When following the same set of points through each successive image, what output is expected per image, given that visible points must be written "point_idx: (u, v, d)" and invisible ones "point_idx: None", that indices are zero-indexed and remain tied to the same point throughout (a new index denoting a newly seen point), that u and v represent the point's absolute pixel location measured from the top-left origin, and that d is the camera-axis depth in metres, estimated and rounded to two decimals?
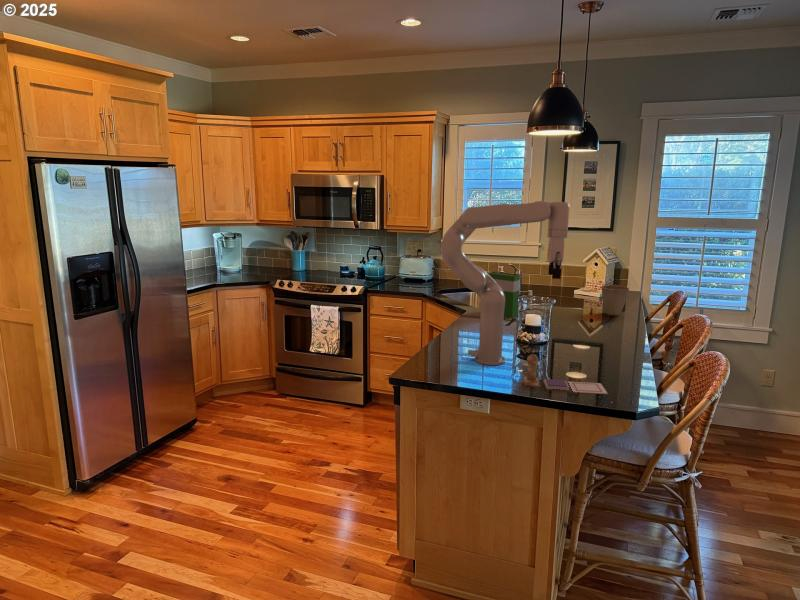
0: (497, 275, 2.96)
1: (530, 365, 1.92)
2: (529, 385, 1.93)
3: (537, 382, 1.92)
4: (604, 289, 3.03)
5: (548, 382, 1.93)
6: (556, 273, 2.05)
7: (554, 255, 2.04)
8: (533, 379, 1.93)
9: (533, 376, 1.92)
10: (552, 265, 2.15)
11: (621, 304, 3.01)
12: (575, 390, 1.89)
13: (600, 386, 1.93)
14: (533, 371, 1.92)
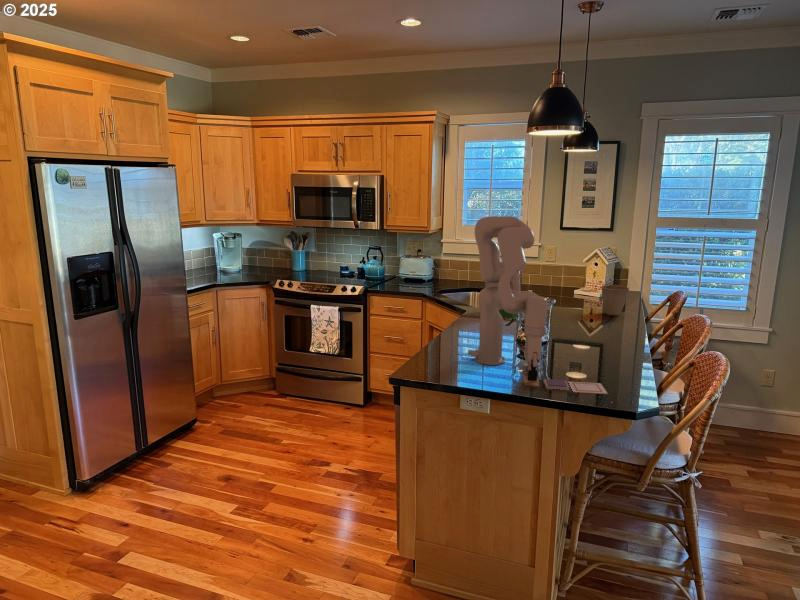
0: None
1: None
2: (529, 385, 1.93)
3: (537, 382, 1.92)
4: (604, 289, 3.03)
5: (548, 382, 1.93)
6: (532, 375, 1.91)
7: (531, 355, 1.87)
8: None
9: None
10: None
11: (621, 304, 3.01)
12: (575, 390, 1.89)
13: (600, 386, 1.93)
14: None
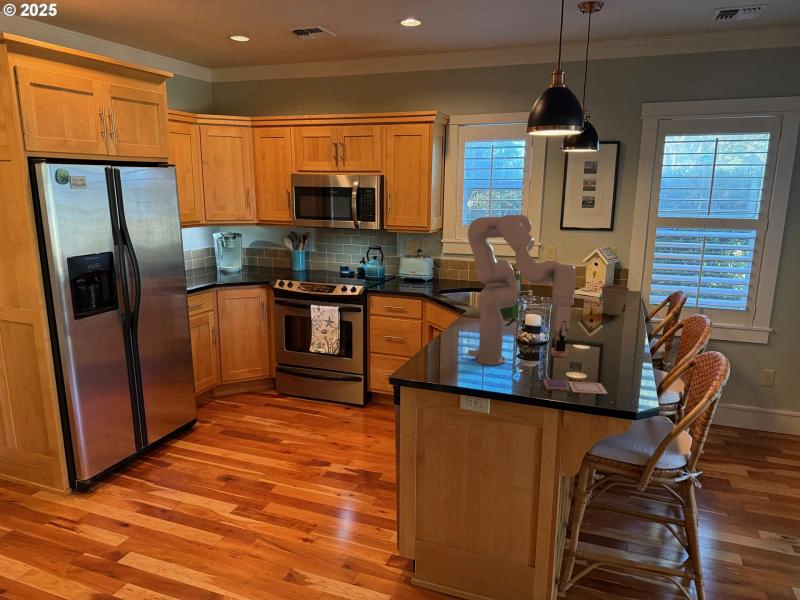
0: None
1: None
2: (557, 356, 1.89)
3: (565, 352, 1.88)
4: (604, 289, 3.03)
5: (548, 382, 1.93)
6: (560, 345, 1.87)
7: (559, 324, 1.84)
8: None
9: None
10: None
11: (621, 304, 3.01)
12: (575, 390, 1.89)
13: (600, 386, 1.93)
14: None
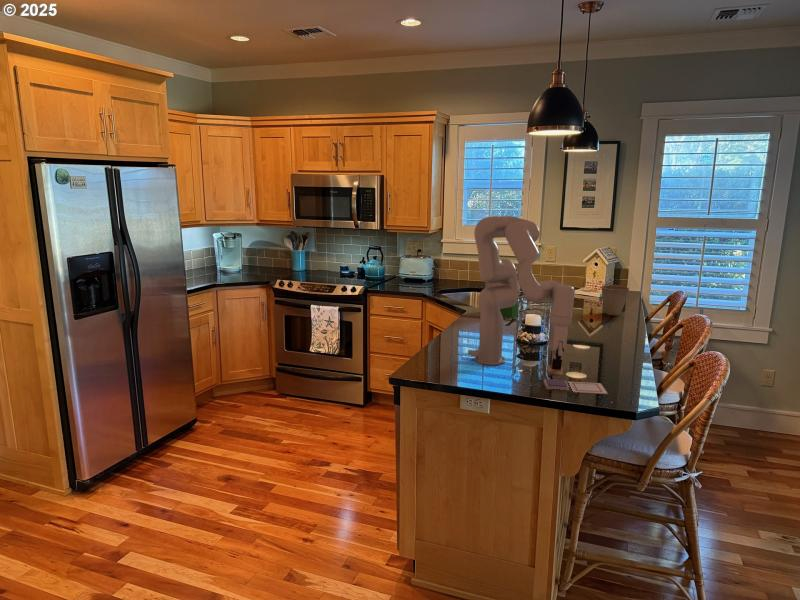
0: None
1: None
2: (553, 374, 1.91)
3: (561, 371, 1.91)
4: (604, 289, 3.03)
5: (548, 382, 1.93)
6: (556, 364, 1.90)
7: (556, 344, 1.86)
8: None
9: None
10: None
11: (621, 304, 3.01)
12: (575, 390, 1.89)
13: (600, 386, 1.93)
14: None
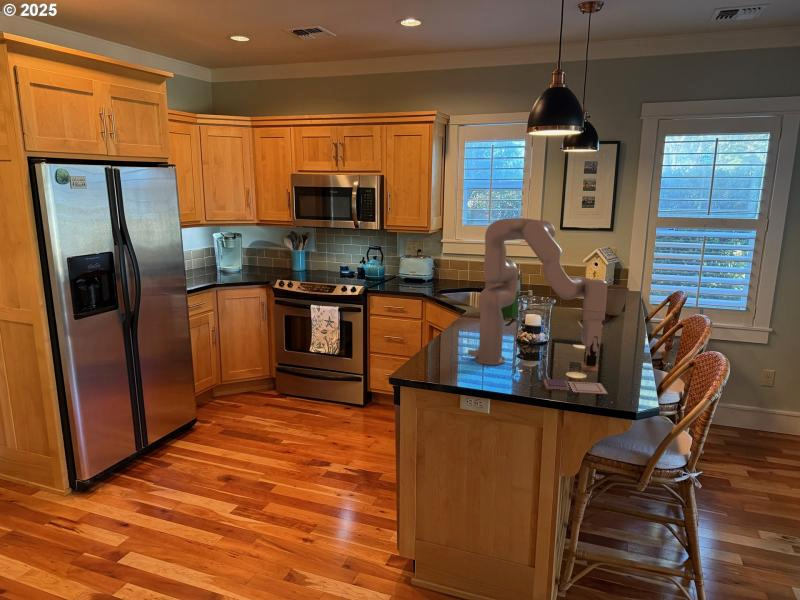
0: None
1: None
2: (588, 370, 1.89)
3: (596, 367, 1.88)
4: None
5: (548, 382, 1.93)
6: (591, 360, 1.87)
7: (591, 340, 1.83)
8: None
9: None
10: None
11: (621, 304, 3.01)
12: (575, 390, 1.89)
13: (600, 386, 1.93)
14: None
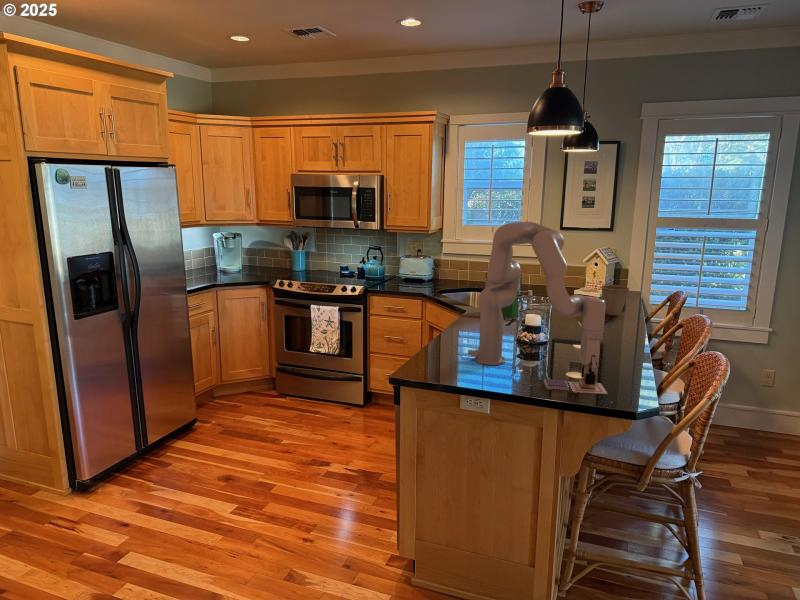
0: None
1: None
2: (586, 387, 1.90)
3: (594, 384, 1.90)
4: (604, 289, 3.03)
5: (548, 382, 1.93)
6: (590, 379, 1.87)
7: (589, 358, 1.85)
8: None
9: None
10: None
11: (621, 304, 3.01)
12: (575, 390, 1.89)
13: (600, 386, 1.93)
14: None
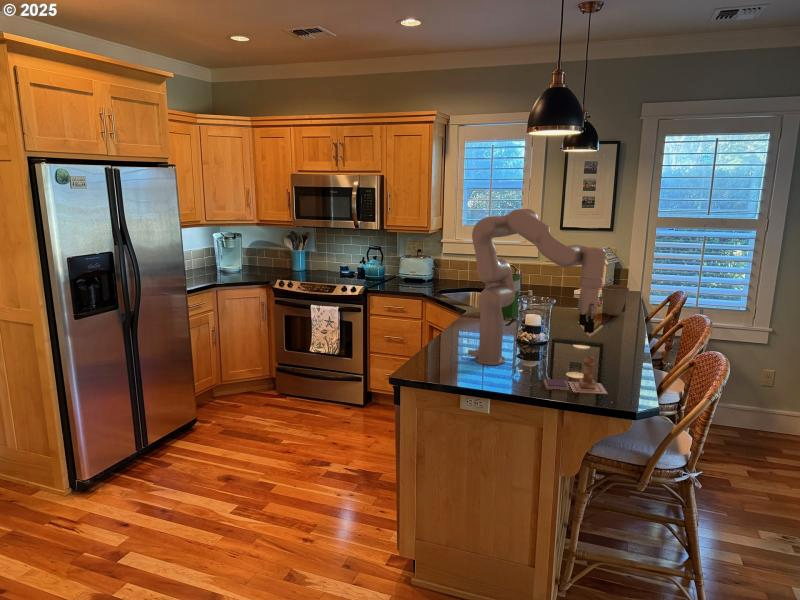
0: None
1: (587, 367, 1.89)
2: (586, 387, 1.90)
3: (594, 384, 1.90)
4: (604, 289, 3.03)
5: (548, 382, 1.93)
6: (589, 327, 1.85)
7: (587, 307, 1.85)
8: (590, 381, 1.90)
9: (590, 378, 1.90)
10: (583, 315, 1.95)
11: (621, 304, 3.01)
12: (575, 390, 1.89)
13: (600, 386, 1.93)
14: (590, 373, 1.89)
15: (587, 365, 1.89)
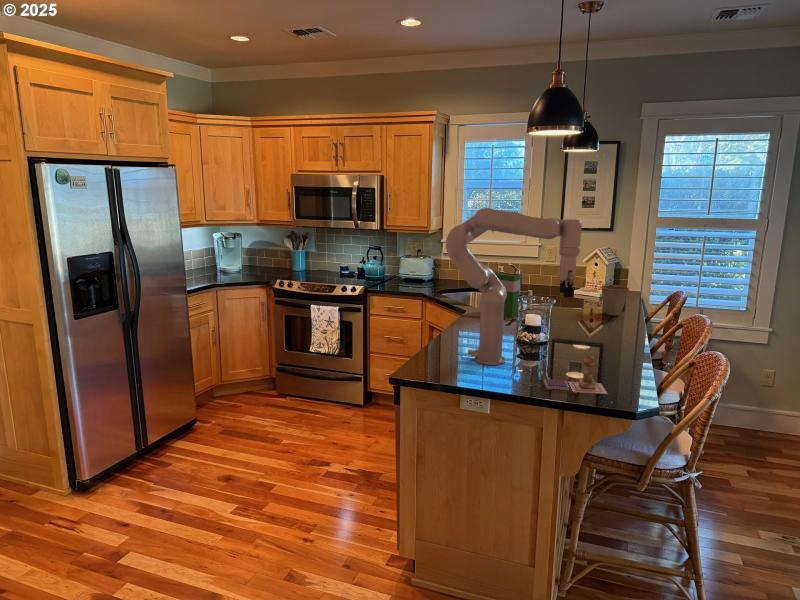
0: (497, 275, 2.96)
1: (587, 367, 1.89)
2: (586, 387, 1.90)
3: (594, 384, 1.90)
4: (604, 289, 3.03)
5: (548, 382, 1.93)
6: (568, 292, 2.01)
7: (566, 274, 2.00)
8: (590, 381, 1.90)
9: (590, 378, 1.90)
10: (563, 283, 2.11)
11: (621, 304, 3.01)
12: (575, 390, 1.89)
13: (600, 386, 1.93)
14: (590, 373, 1.89)
15: (587, 365, 1.89)
